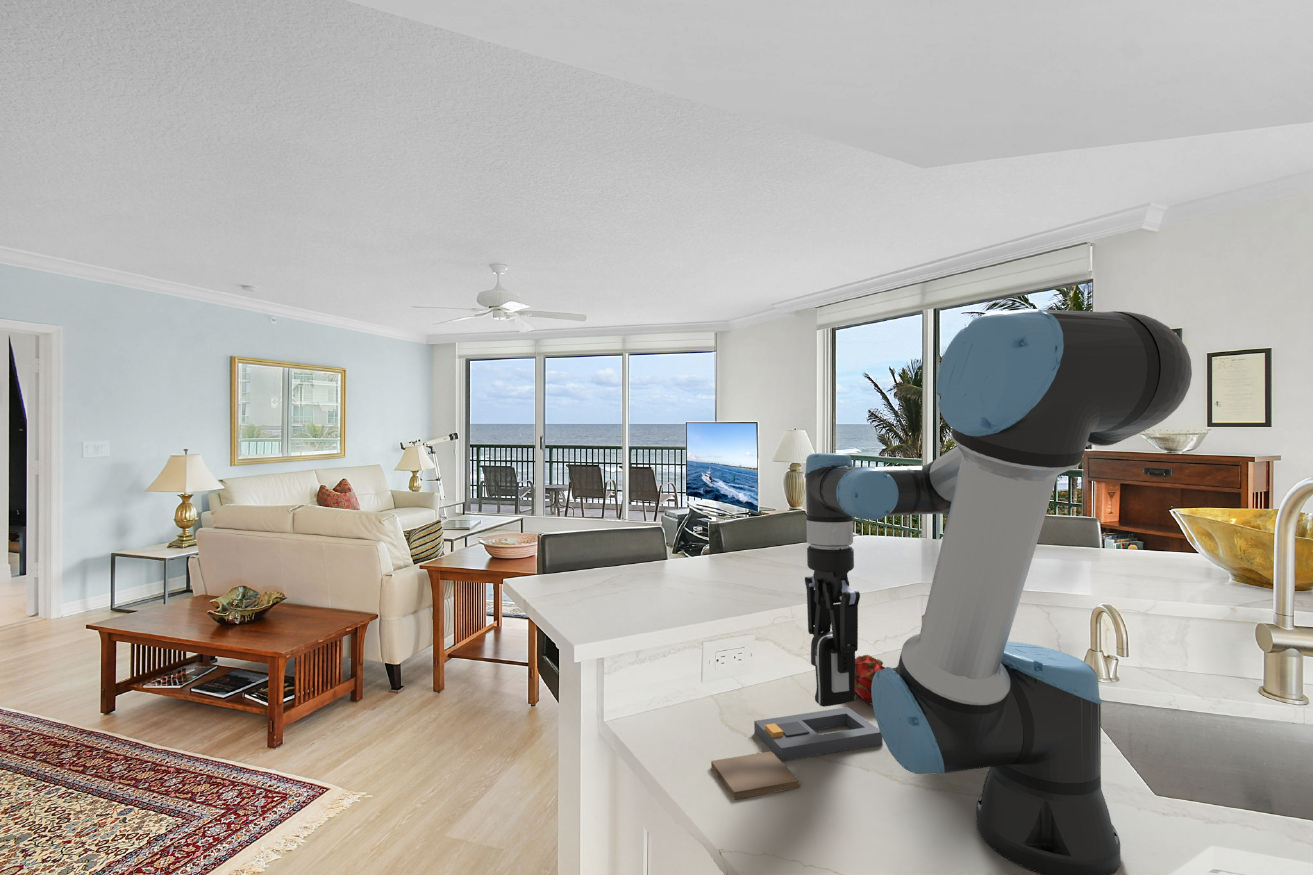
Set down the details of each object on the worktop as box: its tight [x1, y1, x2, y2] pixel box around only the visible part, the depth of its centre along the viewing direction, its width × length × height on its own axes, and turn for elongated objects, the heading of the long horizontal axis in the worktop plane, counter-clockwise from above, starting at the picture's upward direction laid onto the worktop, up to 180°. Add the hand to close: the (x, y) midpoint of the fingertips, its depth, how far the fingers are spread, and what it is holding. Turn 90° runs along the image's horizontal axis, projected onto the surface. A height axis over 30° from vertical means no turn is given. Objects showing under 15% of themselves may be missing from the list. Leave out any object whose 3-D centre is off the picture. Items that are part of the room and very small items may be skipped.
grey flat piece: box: [753, 706, 884, 762], centre depth 106 cm, size 10×18×3 cm, turn 106°
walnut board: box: [710, 750, 800, 800], centre depth 94 cm, size 9×10×1 cm
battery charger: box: [810, 631, 856, 707], centre depth 107 cm, size 7×4×11 cm, turn 110°
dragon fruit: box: [855, 654, 886, 706], centre depth 121 cm, size 8×8×12 cm
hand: (832, 685), depth 107 cm, fingers closed on battery charger, 4 cm apart
